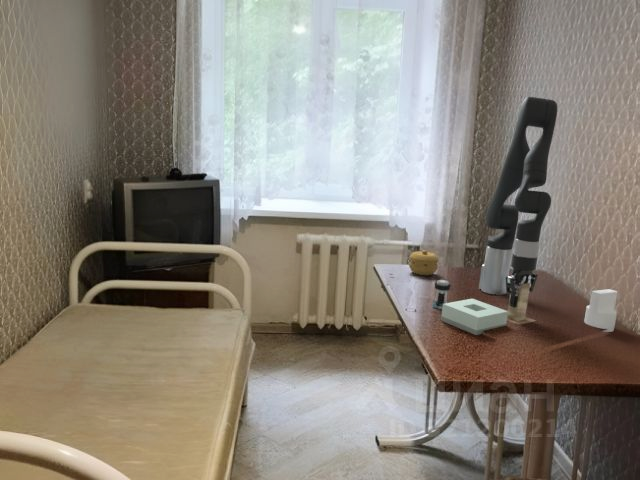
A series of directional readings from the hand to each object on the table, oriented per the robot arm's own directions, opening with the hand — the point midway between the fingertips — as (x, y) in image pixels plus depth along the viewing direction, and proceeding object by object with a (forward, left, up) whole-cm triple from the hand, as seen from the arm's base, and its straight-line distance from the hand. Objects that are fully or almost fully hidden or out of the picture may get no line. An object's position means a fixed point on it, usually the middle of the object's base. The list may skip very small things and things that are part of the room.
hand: (517, 305), depth 193 cm
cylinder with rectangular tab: (+16, +22, -6) cm, 28 cm away
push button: (-18, -15, -5) cm, 24 cm away
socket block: (-4, -16, -5) cm, 17 cm away
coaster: (0, 0, -5) cm, 5 cm away
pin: (0, 0, -4) cm, 4 cm away
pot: (-56, +14, -6) cm, 58 cm away
